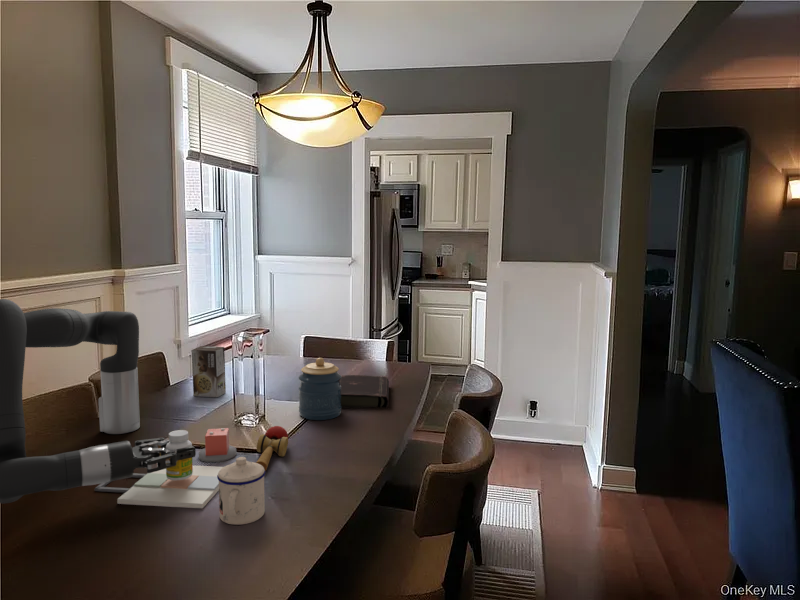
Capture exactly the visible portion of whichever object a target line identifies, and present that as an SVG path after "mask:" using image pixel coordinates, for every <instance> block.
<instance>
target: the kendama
mask: <svg viewBox="0 0 800 600" xmlns="http://www.w3.org/2000/svg"><path fill="white" fill-rule="evenodd" d="M256 443H257V444H256V451H257V452H258V453H261V454H260V456H259V458H258V459H257V461H256V462H255V463H258V464H260V465H262V466H263V467H264V470H265V472H266V471H267V470H268V466H269V463H270V461H271V458H272V455H273V452H275V453H276V454H277V456H279V457H285V456H286V453H287V451H288V445H289V435H288V432H287V430H286V429H285V428H284V427H283V426H279V425H273V426H271V427H269V428H268V429H267V430H266V432H265V433H264V434H263V433H262V434H260V435H259V437H258V440H257V442H256Z"/></svg>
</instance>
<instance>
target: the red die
mask: <svg viewBox="0 0 800 600" xmlns="http://www.w3.org/2000/svg"><path fill="white" fill-rule="evenodd" d="M204 439H205V440H204V443H205V447H204V448H202V449H200V450H199V451H198V459H199V461H202V462H205V463H222V462H226V461H229V460H232V459H234V458H235V457H236V456H237V447H235V446H233V445H231V444H230V429H229V427H226V428H225V427H224V428H223V427H221V428H208V429H207V431H206V434H205V435H204Z"/></svg>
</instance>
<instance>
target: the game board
mask: <svg viewBox="0 0 800 600" xmlns="http://www.w3.org/2000/svg"><path fill="white" fill-rule="evenodd" d="M192 467H193V471H192V475H191V476H190V477H189V478H187V479H184V480H169V479H168V478H167V477H166V469H162V470H159V471H155V472H152V473H135V472H134V473H133V475H132V477H131V478H137V479H138V478H139V479H138V481H136V482H135V483H134V484H132V486H131V487H130V488H127V487H113V486H112V487H109V486H107V485H108V484H110V483H112V481H110V482H105V483H100V484H98V485H97V486H95V488H94V491H95V492H105V493H106V492H109V493H122V494H121V496H119V497H118V498H117V499H116V500H117V504H119V505H120V504H121V505H132V506H133V505H134V506H135V505H136V506H150V507H151V506H155V507H169V508H170V507H171V508H189V509H203V508H205V506H206V505H207V504H208V503H209V502H210V501H211V499H212V498H213V497H214V496H216V494H217V493H219V480H218V478H217V475H218V472H219V471H220V470H221V469H222V468H223V467H224V466H214V465H213V466H212V465H211V466H210V465H208V466H207V465H193V464H192Z"/></svg>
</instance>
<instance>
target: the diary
mask: <svg viewBox="0 0 800 600" xmlns="http://www.w3.org/2000/svg"><path fill="white" fill-rule="evenodd" d="M389 384H390V381H389V378H388V376H387V375H386V376H383V375H382V376H379V375H366V374H365V375H363V374H362V375H360V374H342V375H341V379H340V385H341V409H361V408H378V406H379V408H382V407H383V406H384V405H385V409H387V408H388V407H389V403H390V402H389V399H390V397H389V394H390V389H389V386H390V385H389Z"/></svg>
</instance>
